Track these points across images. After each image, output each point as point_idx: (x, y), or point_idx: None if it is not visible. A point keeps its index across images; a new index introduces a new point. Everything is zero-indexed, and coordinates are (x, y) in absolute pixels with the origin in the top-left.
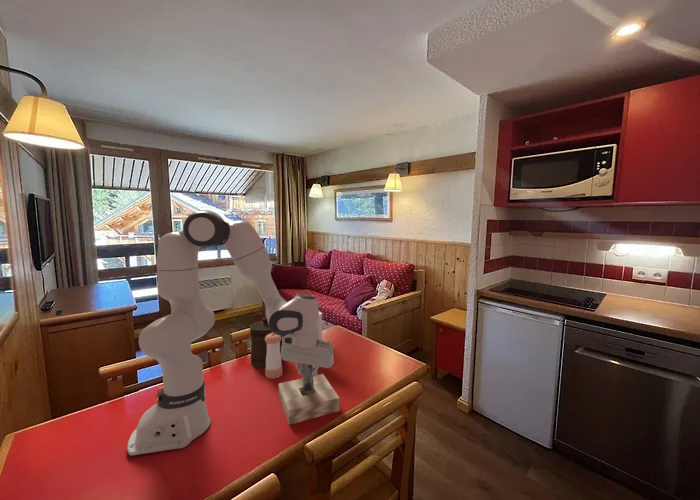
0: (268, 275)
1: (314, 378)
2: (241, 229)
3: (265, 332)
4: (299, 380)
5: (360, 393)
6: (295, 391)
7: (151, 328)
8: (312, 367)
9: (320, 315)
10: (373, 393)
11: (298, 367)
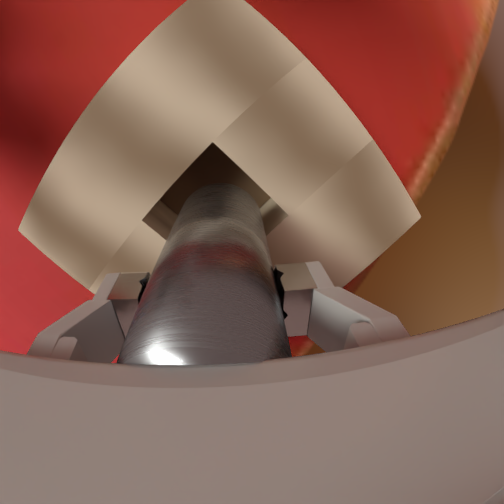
0: None
1: (179, 56)
2: None
3: None
4: (88, 135)
5: (430, 44)
6: (148, 258)
7: None
8: (286, 331)
9: None
10: (468, 44)
11: (108, 359)
